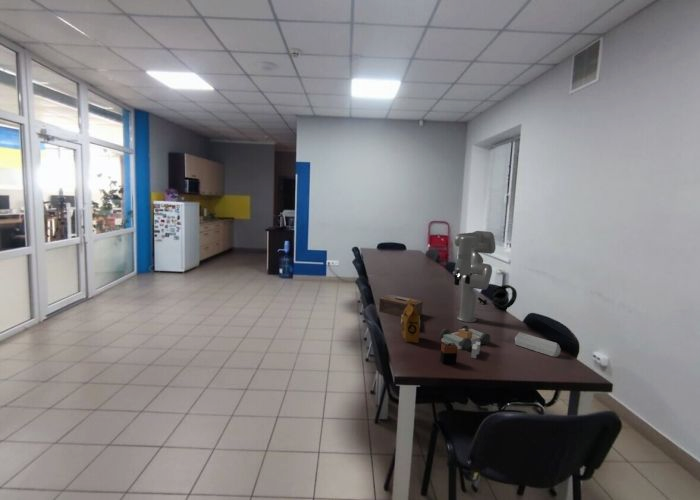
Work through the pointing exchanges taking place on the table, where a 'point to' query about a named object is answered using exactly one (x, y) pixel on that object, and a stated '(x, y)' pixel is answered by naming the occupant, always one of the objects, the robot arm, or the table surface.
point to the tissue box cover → (397, 305)
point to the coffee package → (410, 323)
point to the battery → (448, 353)
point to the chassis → (465, 342)
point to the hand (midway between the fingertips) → (461, 284)
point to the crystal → (537, 344)
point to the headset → (499, 294)
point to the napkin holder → (475, 349)
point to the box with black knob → (465, 333)
